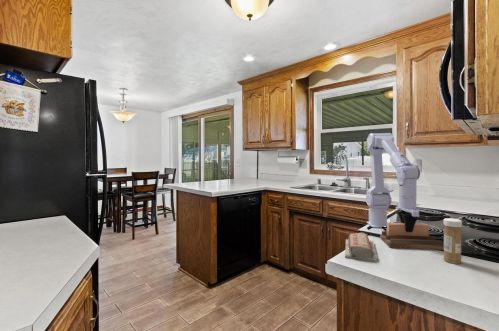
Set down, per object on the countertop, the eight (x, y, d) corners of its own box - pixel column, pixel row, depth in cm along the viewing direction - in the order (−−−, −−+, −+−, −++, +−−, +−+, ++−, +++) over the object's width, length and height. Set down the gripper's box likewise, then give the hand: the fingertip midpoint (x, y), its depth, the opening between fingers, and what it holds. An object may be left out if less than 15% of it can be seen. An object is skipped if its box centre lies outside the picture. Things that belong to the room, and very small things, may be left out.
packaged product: (378, 248, 82) (344, 245, 85) (378, 263, 82) (345, 259, 85) (373, 232, 98) (345, 230, 102) (373, 244, 99) (345, 241, 102)
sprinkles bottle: (464, 265, 78) (464, 221, 78) (446, 263, 80) (446, 220, 79) (457, 259, 83) (458, 218, 82) (440, 257, 84) (441, 217, 84)
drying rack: (380, 238, 104) (380, 230, 104) (428, 239, 101) (428, 232, 101) (389, 247, 94) (389, 239, 94) (444, 250, 90) (444, 241, 90)
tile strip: (386, 235, 102) (386, 222, 102) (425, 236, 100) (425, 223, 99) (388, 237, 100) (388, 224, 100) (428, 238, 97) (428, 225, 97)
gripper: (389, 193, 107) (389, 225, 107) (404, 199, 93) (404, 236, 93) (408, 193, 106) (408, 225, 106) (425, 199, 91) (425, 236, 92)
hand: (407, 230), depth 100 cm, fingers closed on tile strip, 2 cm apart
